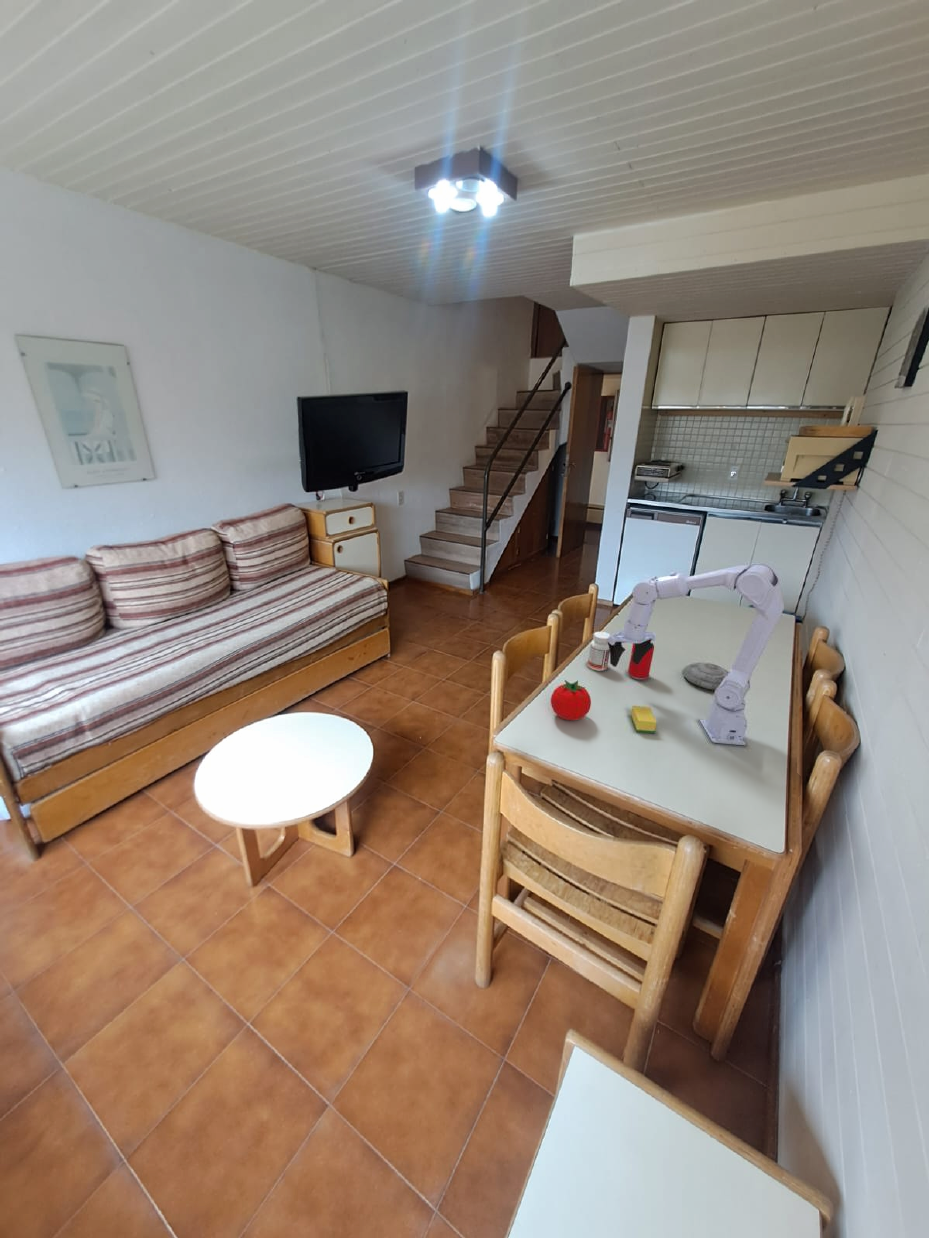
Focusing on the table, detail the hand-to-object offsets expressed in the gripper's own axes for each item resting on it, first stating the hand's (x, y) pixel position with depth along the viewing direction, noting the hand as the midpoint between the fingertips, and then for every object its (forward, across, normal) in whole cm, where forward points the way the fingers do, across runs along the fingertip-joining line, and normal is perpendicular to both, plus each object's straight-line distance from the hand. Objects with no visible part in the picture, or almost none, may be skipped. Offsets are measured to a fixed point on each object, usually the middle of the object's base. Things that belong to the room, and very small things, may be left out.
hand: (624, 663), depth 140 cm
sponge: (+9, +3, +16) cm, 18 cm away
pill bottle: (+11, -4, -15) cm, 19 cm away
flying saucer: (+8, -32, +3) cm, 33 cm away
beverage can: (+10, -13, -6) cm, 17 cm away
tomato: (+11, +20, +7) cm, 24 cm away
